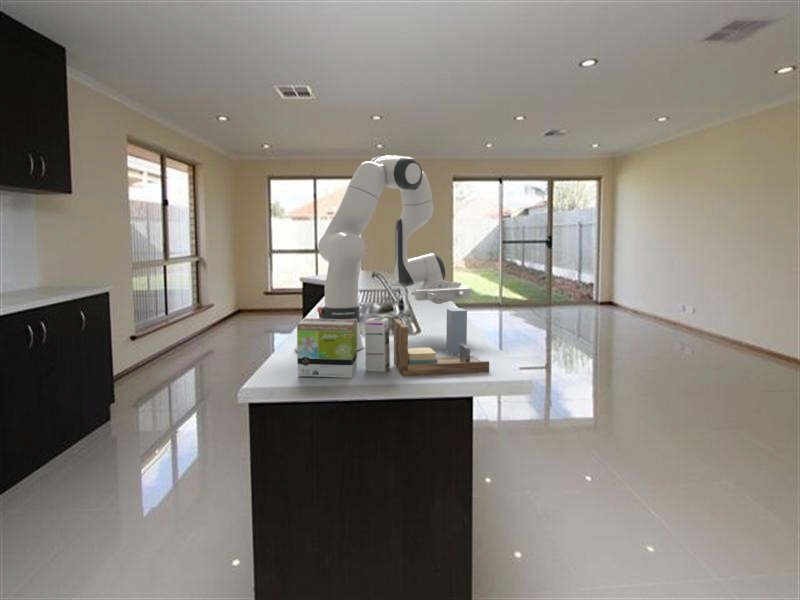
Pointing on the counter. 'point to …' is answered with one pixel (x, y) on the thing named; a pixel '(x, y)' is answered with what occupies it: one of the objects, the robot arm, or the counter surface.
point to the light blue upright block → (456, 329)
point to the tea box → (327, 347)
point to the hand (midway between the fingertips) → (447, 296)
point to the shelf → (440, 368)
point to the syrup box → (377, 344)
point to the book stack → (421, 356)
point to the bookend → (466, 354)
